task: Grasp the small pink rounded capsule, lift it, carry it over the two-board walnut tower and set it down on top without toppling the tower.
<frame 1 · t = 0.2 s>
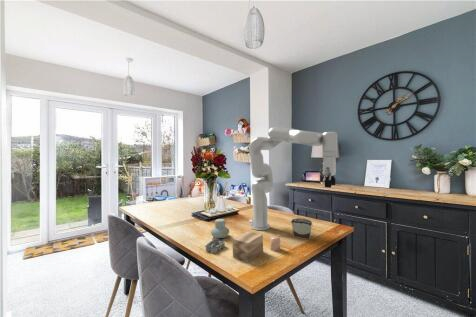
hand: (330, 186, 122), 31 cm above the table, fingers open, 9 cm apart
pink rounded capsule: (275, 249, 115), on the table
air freshener: (220, 237, 134), on the table
tower base: (248, 255, 110), on the table, touching tower top
tower top: (248, 245, 110), point 4 cm above the table, touching tower base
food container: (302, 236, 132), on the table
egg carton: (215, 249, 117), on the table
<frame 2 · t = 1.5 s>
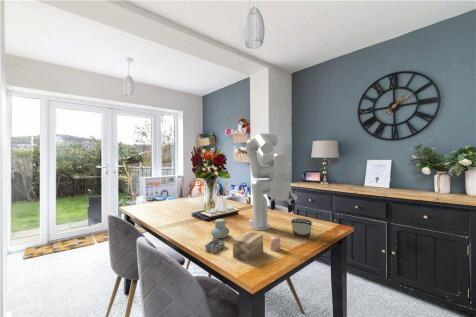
hand: (281, 210, 116), 20 cm above the table, fingers open, 9 cm apart
nothing on the table moved.
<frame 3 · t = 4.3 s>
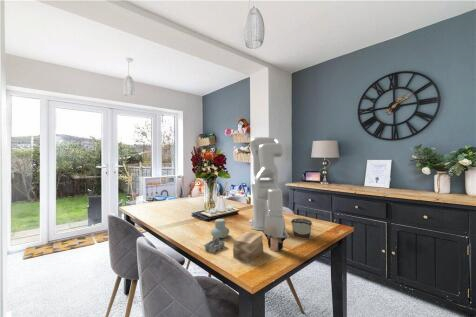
hand: (275, 247, 115), 1 cm above the table, fingers closed on pink rounded capsule, 5 cm apart
pink rounded capsule: (275, 249, 115), on the table, touching gripper
tower base: (248, 255, 110), on the table
tower top: (248, 246, 109), point 4 cm above the table
everything else where it was.
when the fingers open (11 cm above the table, at t = 8.1 s): pink rounded capsule drops 1 cm, resting on tower top.
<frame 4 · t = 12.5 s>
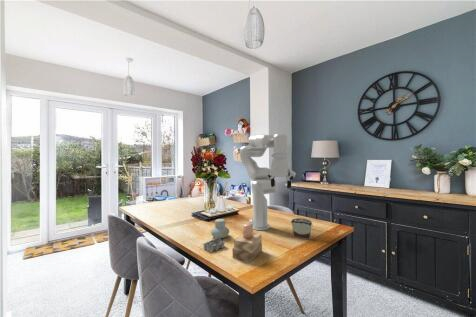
hand: (280, 187, 125), 30 cm above the table, fingers open, 9 cm apart
pink rounded capsule: (247, 236, 110), point 9 cm above the table, touching tower top
tower base: (247, 255, 110), on the table, touching tower top
tower top: (248, 246, 110), point 4 cm above the table, touching pink rounded capsule, tower base
at the end: pink rounded capsule 0.3 cm from the tower top (horizontally); pink rounded capsule point 8.6 cm above the table; tower top tilted 0° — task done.
